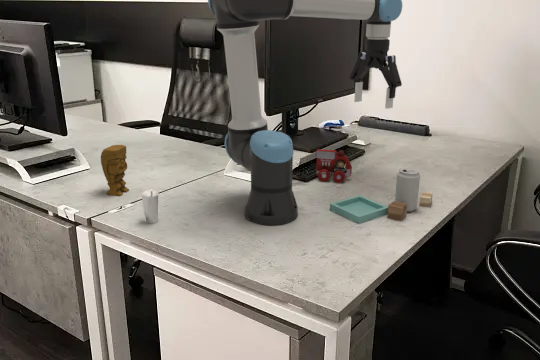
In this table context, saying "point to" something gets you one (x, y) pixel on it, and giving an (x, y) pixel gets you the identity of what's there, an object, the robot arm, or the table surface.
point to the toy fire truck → (332, 165)
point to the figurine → (115, 168)
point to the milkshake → (150, 205)
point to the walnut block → (397, 211)
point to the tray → (359, 209)
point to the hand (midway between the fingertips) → (372, 104)
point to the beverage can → (408, 187)
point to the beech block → (425, 199)
